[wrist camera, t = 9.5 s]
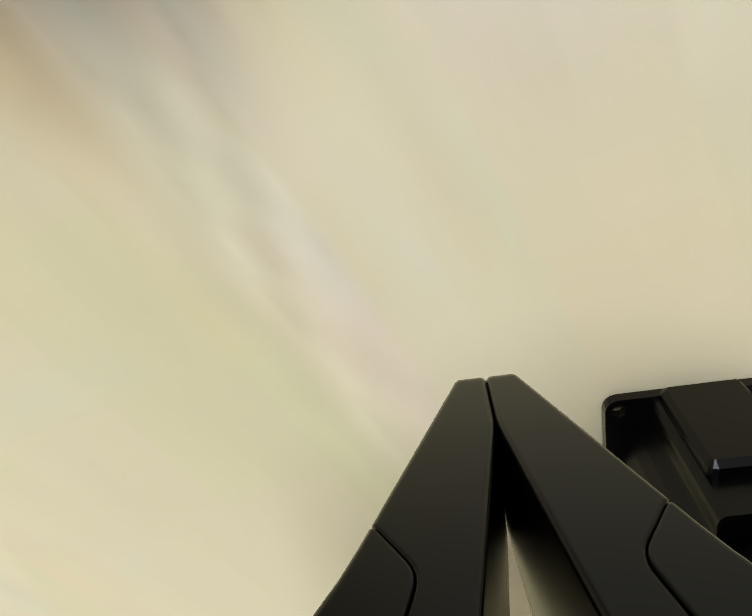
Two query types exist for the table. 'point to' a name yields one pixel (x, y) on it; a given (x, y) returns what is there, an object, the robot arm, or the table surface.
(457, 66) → the table surface
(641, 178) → the table surface
